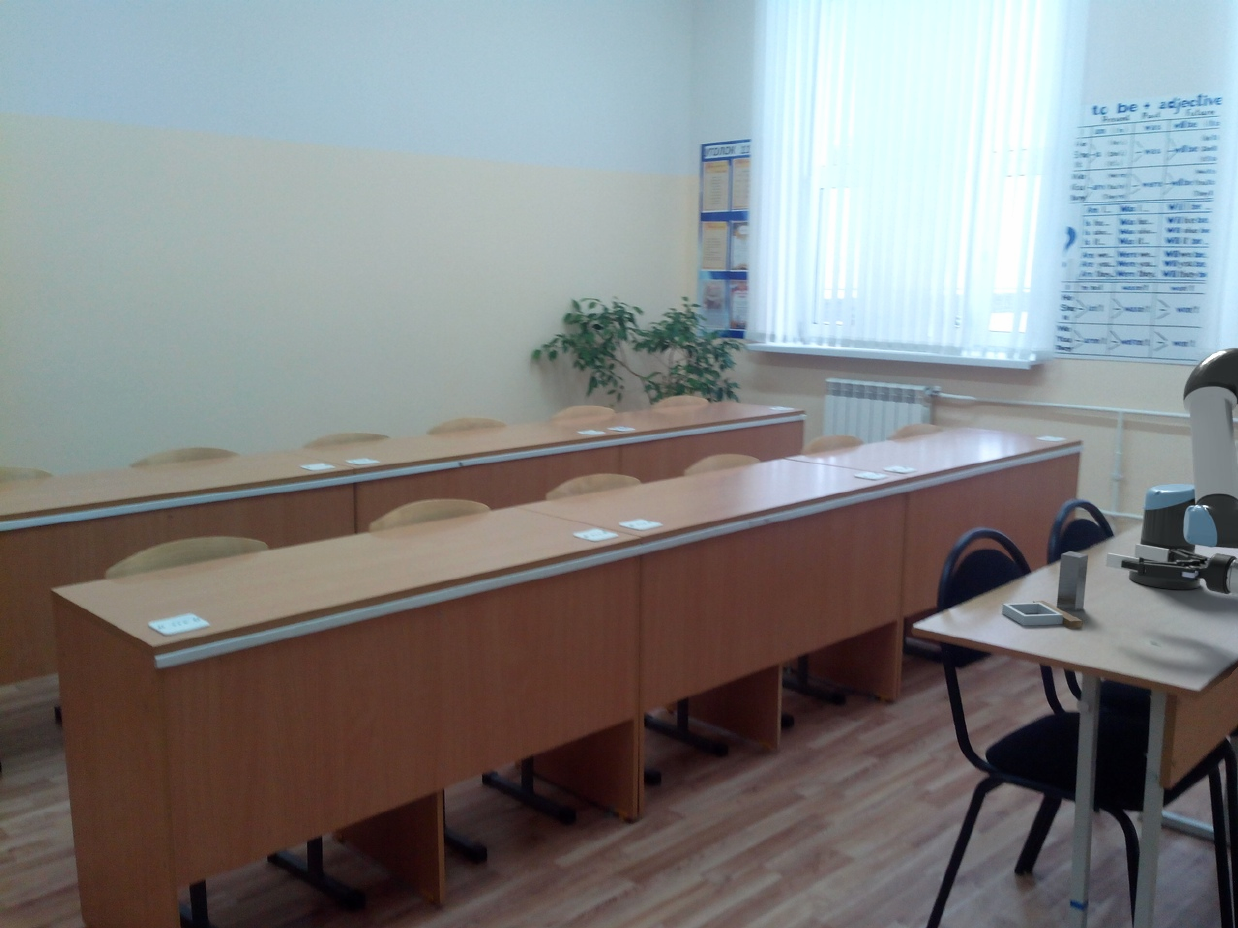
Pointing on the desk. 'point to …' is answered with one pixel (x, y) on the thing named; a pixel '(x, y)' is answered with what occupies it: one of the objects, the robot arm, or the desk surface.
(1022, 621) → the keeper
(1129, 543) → the desk surface
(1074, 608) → the bar
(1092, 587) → the desk surface
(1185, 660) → the desk surface
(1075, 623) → the sill strip
